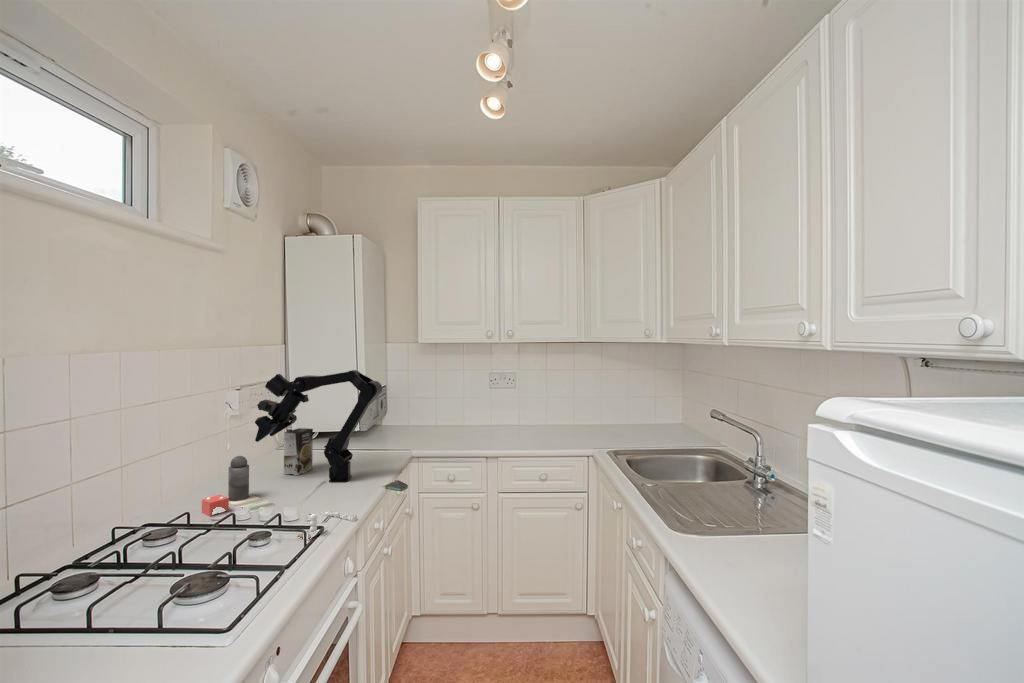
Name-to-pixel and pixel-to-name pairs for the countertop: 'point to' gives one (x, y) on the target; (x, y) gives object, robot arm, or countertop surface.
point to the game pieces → (391, 486)
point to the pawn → (238, 479)
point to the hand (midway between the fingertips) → (263, 438)
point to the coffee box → (298, 451)
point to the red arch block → (214, 504)
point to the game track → (252, 501)
